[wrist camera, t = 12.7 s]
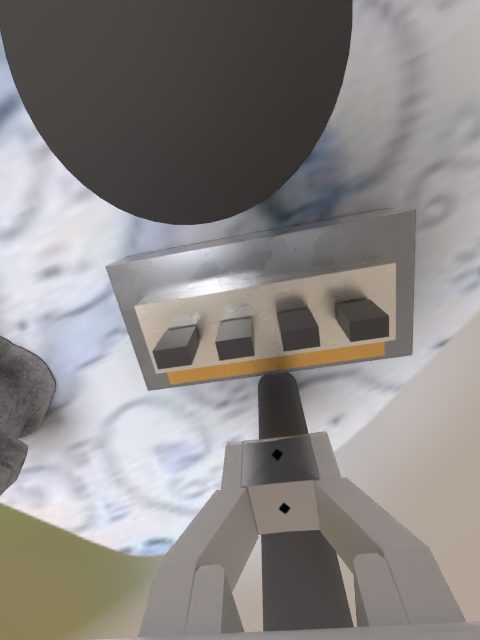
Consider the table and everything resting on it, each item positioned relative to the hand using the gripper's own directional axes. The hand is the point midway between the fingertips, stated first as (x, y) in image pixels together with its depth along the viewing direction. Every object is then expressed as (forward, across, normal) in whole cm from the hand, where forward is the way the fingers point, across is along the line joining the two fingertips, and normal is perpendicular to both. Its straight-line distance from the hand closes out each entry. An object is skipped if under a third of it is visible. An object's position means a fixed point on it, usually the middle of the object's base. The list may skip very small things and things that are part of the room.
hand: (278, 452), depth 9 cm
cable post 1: (+17, 0, -9) cm, 19 cm away
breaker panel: (+17, 0, 0) cm, 17 cm away
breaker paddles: (+11, 0, 0) cm, 11 cm away
